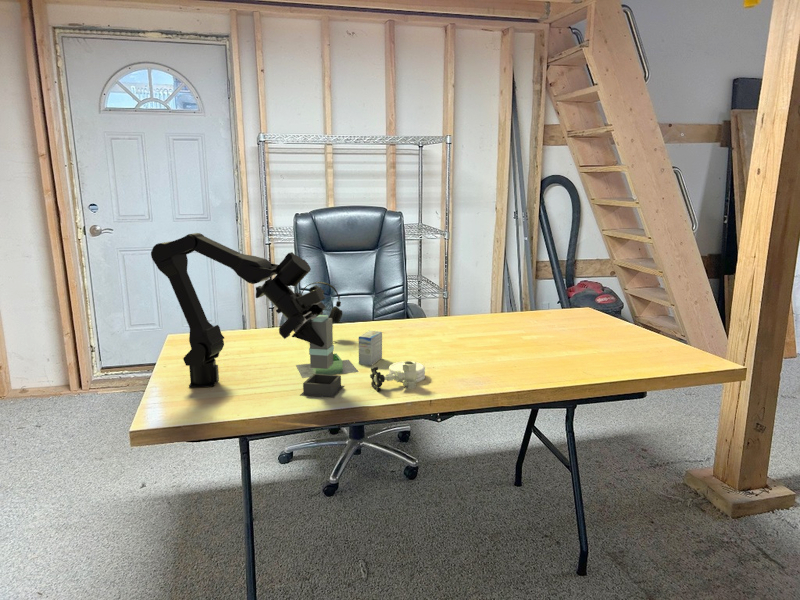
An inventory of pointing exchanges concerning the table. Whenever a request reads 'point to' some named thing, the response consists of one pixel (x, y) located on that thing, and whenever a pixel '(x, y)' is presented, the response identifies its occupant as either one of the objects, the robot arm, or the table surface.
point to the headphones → (335, 311)
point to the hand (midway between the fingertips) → (326, 343)
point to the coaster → (399, 366)
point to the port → (335, 368)
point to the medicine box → (370, 347)
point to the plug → (324, 355)
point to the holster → (322, 386)
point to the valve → (396, 376)
